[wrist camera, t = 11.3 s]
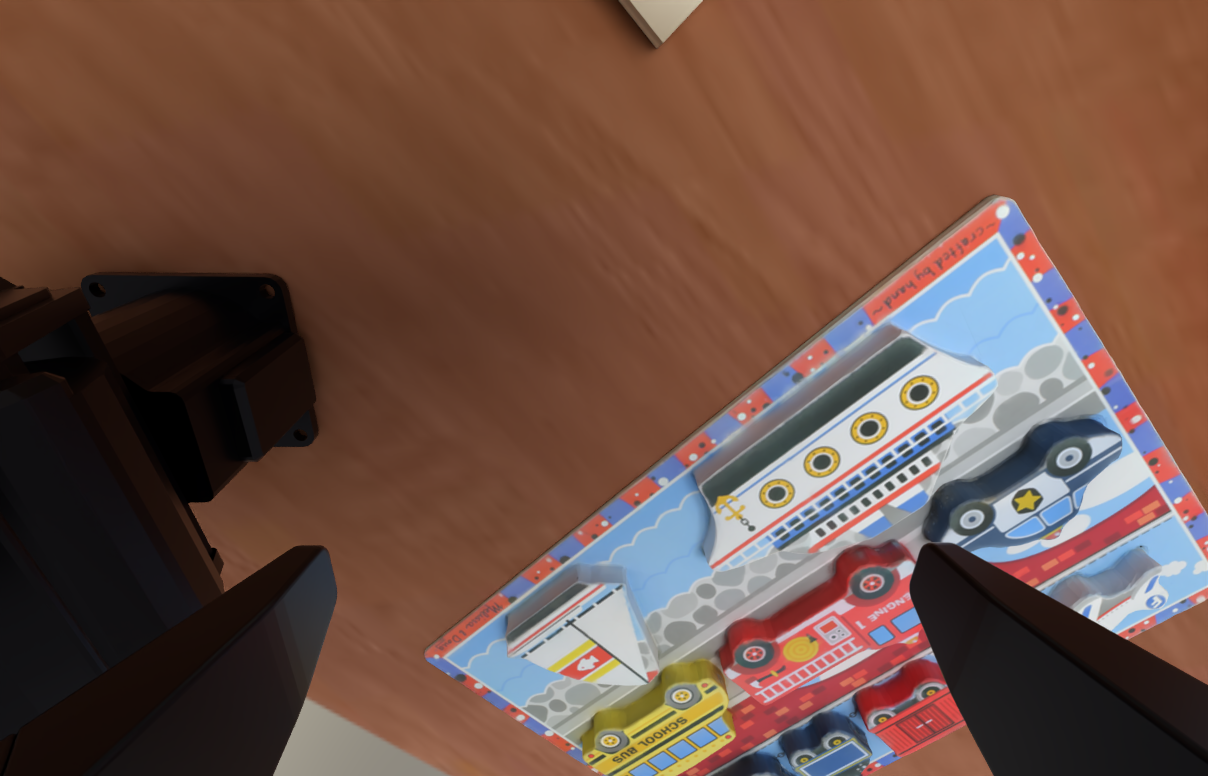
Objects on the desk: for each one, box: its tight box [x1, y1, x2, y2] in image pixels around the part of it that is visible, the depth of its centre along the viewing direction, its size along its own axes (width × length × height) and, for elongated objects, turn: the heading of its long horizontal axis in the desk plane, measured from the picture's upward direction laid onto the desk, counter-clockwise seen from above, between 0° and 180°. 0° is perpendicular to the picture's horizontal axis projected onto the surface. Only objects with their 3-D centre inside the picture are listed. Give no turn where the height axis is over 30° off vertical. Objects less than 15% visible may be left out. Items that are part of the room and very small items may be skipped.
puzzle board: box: [424, 195, 1208, 776], centre depth 26 cm, size 30×23×3 cm
